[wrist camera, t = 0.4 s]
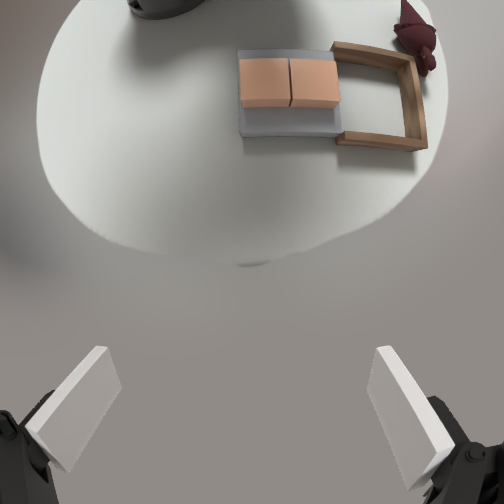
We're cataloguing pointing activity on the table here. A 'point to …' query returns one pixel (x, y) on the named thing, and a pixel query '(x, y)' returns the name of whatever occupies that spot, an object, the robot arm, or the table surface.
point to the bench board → (288, 118)
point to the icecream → (417, 37)
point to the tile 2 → (313, 83)
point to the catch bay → (408, 90)
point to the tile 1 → (264, 82)
